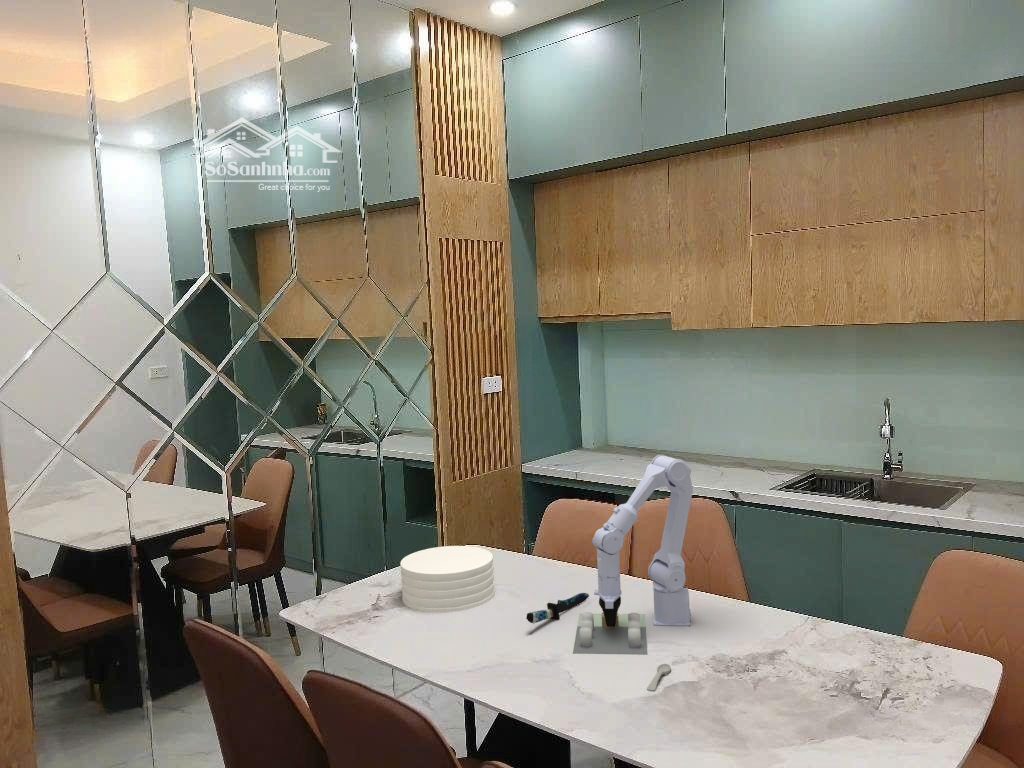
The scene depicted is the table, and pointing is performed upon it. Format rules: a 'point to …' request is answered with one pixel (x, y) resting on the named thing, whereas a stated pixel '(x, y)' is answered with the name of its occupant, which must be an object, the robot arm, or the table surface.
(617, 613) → the nut
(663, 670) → the spoon
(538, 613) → the knife
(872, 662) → the table surface
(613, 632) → the spacer board
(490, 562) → the plate stack
